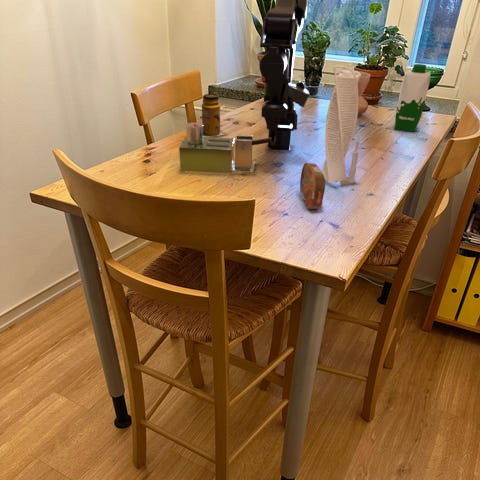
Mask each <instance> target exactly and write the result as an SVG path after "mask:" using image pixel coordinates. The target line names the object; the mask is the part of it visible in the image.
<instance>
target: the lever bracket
mask: <svg viewBox="0 0 480 480" xmlns="http://www.w3.org/2000/svg"><path fill="white" fill-rule="evenodd" d="M253 137H254V136H253V135H252V134H236V138H235V148H234V163H233V167H232V172H231V173H237V174H238V173H239V174H254V170H255V164H256V162H255V161H253V145H252V140H254V138H253ZM245 138H249V139H245Z"/></svg>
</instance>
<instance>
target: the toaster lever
mask: <svg viewBox="0 0 480 480" xmlns="http://www.w3.org/2000/svg"><path fill="white" fill-rule="evenodd" d="M245 139H249V138H245ZM270 142H271V145H275V137H274V138H268V137H267V138H266V137H265V138H259V139H253V140H252V146H256V145H263V144H268V143H270Z"/></svg>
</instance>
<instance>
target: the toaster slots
mask: <svg viewBox="0 0 480 480" xmlns="http://www.w3.org/2000/svg"><path fill="white" fill-rule="evenodd" d="M208 141H224V142H230V140H215V139H209V140H208ZM206 146H222V147H229V145H214V144H207V145H206Z"/></svg>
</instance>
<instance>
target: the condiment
mask: <svg viewBox="0 0 480 480" xmlns="http://www.w3.org/2000/svg"><path fill="white" fill-rule="evenodd" d="M201 124H202V125H203V137H215V138H216V137H220V136H226V134H225V133H223V132H221V104H220V96H219V95H218V94H217V93H205V94H203V95H202V104H201Z"/></svg>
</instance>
